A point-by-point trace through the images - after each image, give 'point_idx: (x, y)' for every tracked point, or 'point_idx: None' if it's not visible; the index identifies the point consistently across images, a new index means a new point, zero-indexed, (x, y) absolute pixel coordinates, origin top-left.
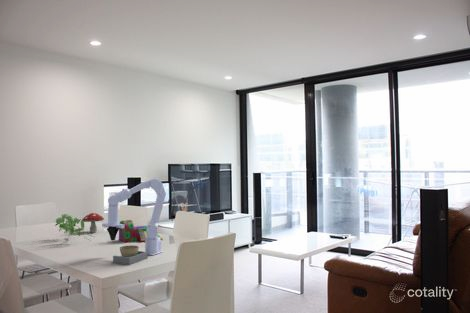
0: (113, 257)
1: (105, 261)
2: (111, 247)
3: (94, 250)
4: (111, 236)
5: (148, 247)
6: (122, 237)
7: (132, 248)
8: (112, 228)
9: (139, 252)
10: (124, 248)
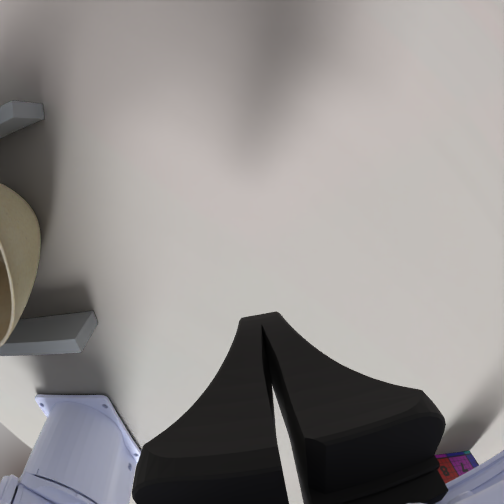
0: (15, 102)
1: (118, 78)
2: (435, 384)
3: (482, 276)
4: (258, 344)
5: (50, 431)
6: (450, 468)
7: (6, 326)
8: (175, 490)
9: (8, 339)
10: (20, 271)
